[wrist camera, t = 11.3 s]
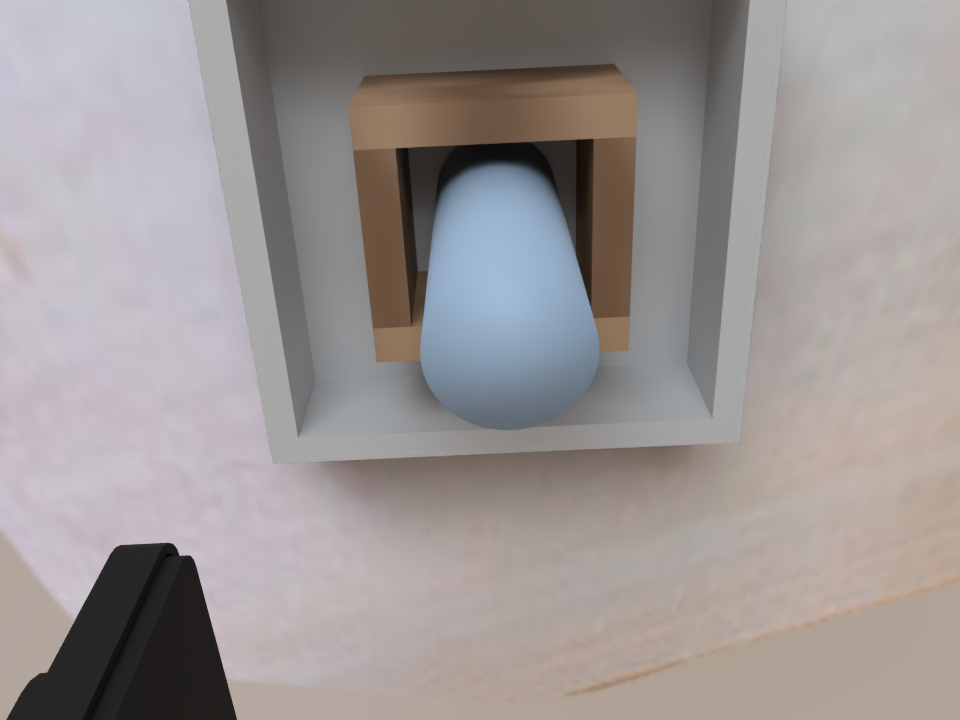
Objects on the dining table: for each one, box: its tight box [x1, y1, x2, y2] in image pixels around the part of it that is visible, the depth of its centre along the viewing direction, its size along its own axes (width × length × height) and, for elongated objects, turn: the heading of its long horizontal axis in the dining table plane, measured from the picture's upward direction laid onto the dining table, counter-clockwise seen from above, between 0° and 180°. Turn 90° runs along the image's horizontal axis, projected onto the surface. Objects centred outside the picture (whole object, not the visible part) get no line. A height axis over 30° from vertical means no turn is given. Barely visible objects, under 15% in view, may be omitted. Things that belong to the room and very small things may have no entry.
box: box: [188, 0, 787, 464], centre depth 29 cm, size 16×16×5 cm
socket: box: [348, 64, 638, 362], centre depth 29 cm, size 8×8×4 cm
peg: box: [420, 142, 600, 430], centre depth 25 cm, size 4×4×12 cm
